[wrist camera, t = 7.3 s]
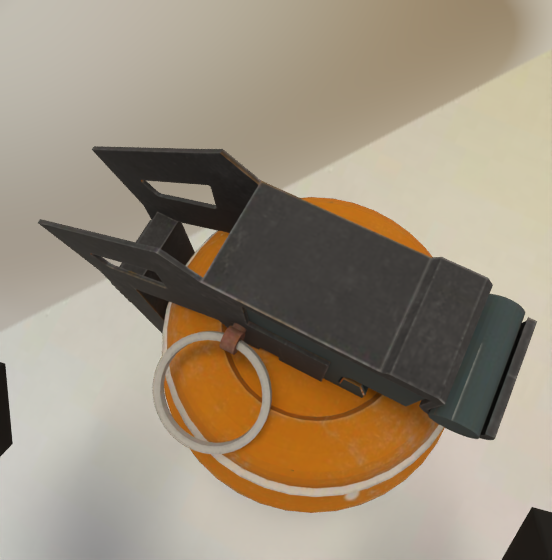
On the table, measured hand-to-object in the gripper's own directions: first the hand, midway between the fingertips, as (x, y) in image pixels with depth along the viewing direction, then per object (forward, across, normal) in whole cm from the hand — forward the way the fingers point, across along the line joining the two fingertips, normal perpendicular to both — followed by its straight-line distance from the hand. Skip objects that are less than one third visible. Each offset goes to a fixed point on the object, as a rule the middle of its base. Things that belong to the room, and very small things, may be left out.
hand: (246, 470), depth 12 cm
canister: (+13, 0, -8) cm, 15 cm away
